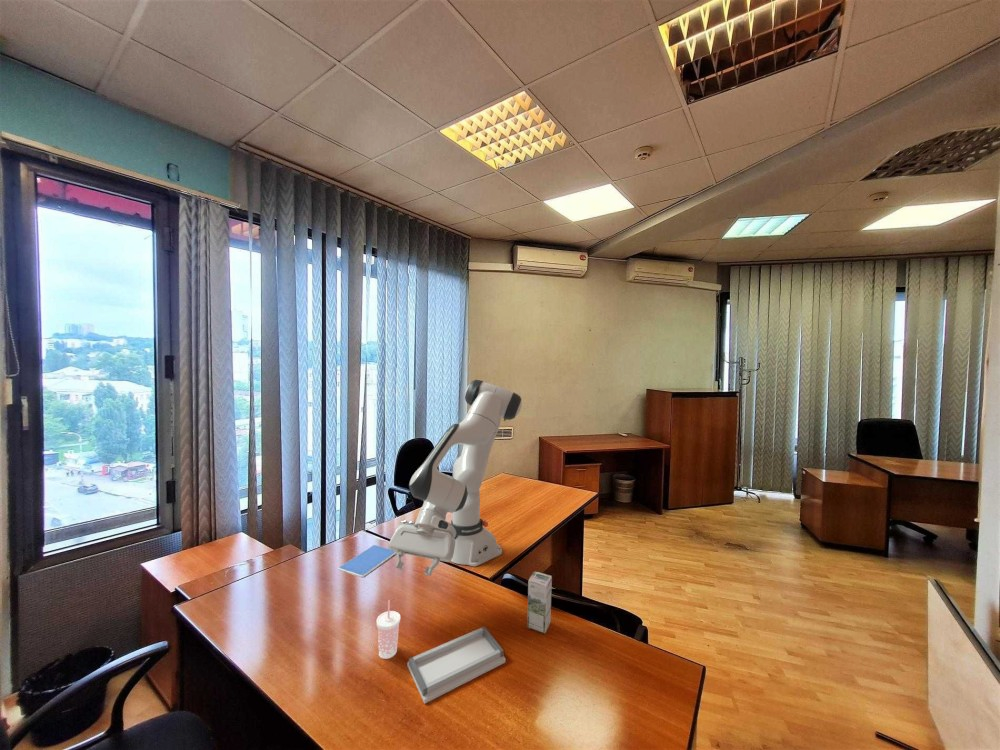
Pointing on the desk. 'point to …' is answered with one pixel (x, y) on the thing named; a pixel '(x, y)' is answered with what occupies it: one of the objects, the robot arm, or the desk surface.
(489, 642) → the rectangular tray
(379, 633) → the beverage cup
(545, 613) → the syrup box
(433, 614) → the desk surface
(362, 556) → the tablet computer
